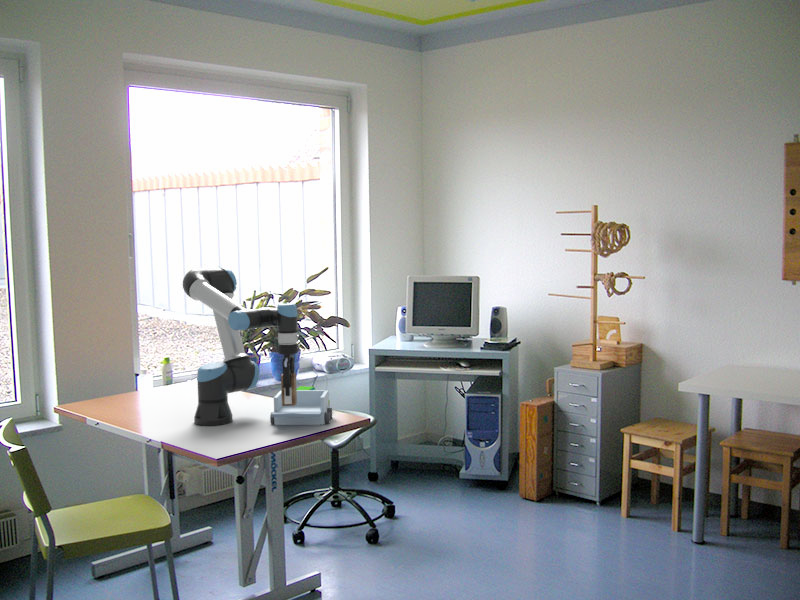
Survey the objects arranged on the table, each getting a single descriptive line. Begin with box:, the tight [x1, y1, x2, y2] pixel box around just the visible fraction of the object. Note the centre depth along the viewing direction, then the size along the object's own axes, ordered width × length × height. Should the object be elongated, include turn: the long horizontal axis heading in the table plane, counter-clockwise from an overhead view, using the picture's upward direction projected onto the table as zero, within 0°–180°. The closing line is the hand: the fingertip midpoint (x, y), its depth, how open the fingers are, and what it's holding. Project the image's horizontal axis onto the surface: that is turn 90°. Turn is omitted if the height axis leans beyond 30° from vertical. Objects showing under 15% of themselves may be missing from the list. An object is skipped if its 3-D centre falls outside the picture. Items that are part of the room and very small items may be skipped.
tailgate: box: [270, 411, 323, 418], centre depth 300 cm, size 19×2×8 cm
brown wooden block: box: [280, 372, 297, 406], centre depth 300 cm, size 5×5×12 cm
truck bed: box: [269, 389, 333, 426], centre depth 312 cm, size 23×15×11 cm, turn 88°
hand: (289, 402), depth 300 cm, fingers closed on brown wooden block, 5 cm apart
